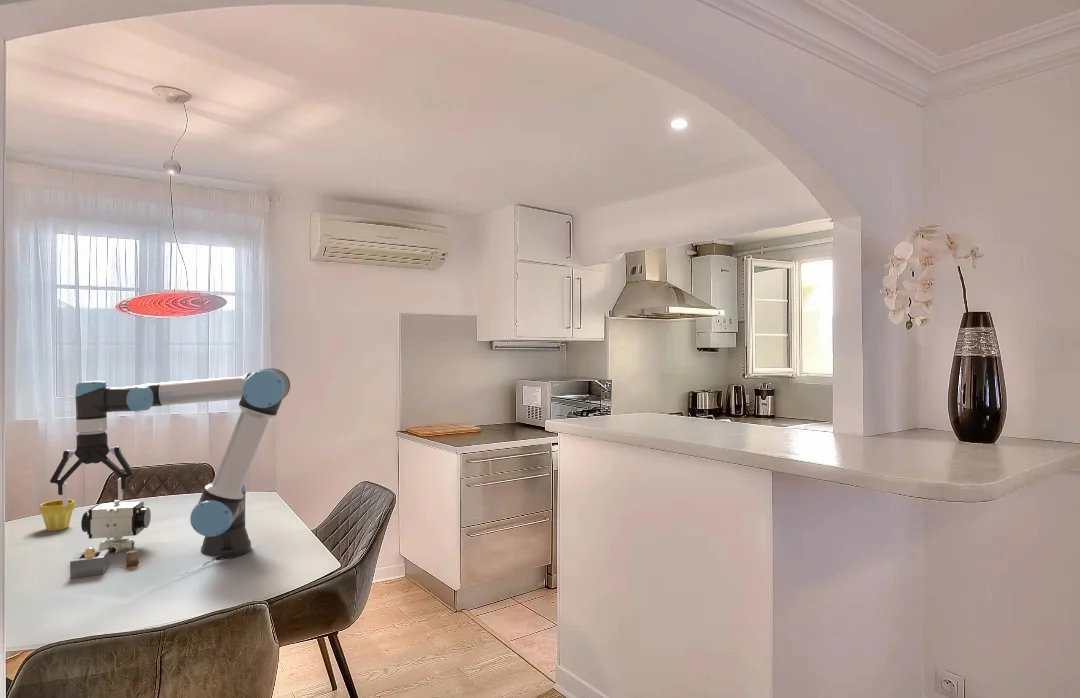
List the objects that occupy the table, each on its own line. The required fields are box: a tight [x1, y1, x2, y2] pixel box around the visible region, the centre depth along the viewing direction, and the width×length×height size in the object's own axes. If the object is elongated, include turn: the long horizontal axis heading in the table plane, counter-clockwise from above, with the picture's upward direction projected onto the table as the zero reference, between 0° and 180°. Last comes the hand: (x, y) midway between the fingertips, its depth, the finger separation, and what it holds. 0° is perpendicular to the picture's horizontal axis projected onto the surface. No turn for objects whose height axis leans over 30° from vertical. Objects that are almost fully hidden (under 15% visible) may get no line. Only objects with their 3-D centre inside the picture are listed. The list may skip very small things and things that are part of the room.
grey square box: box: [69, 549, 110, 580], centre depth 184 cm, size 8×8×5 cm
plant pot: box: [39, 498, 75, 532], centre depth 232 cm, size 10×10×10 cm
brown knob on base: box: [115, 549, 150, 570], centre depth 190 cm, size 6×6×6 cm
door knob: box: [84, 547, 96, 558], centre depth 184 cm, size 6×6×9 cm
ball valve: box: [80, 499, 152, 554], centre depth 204 cm, size 18×8×18 cm, turn 105°
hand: (93, 502), depth 185 cm, fingers open, 13 cm apart
